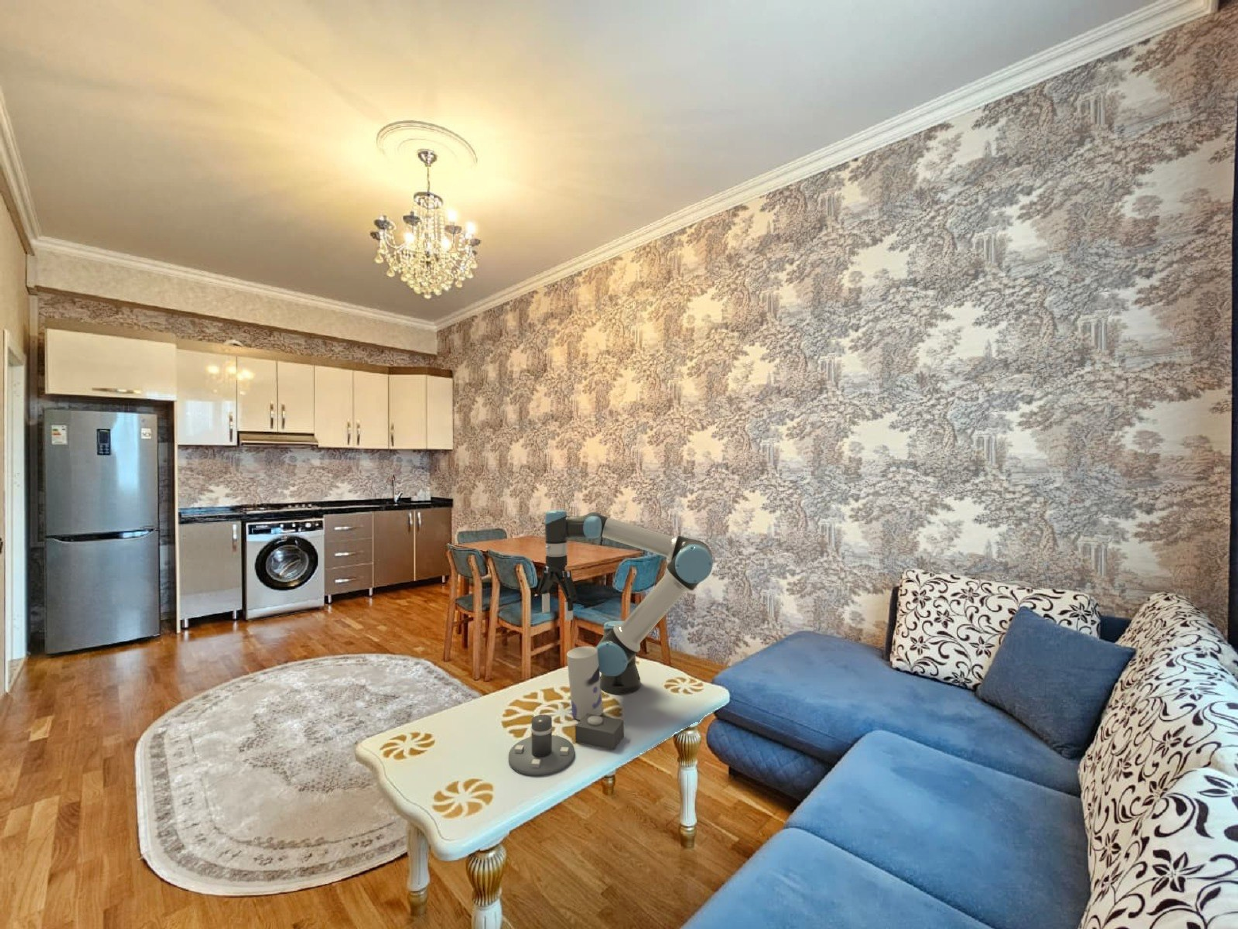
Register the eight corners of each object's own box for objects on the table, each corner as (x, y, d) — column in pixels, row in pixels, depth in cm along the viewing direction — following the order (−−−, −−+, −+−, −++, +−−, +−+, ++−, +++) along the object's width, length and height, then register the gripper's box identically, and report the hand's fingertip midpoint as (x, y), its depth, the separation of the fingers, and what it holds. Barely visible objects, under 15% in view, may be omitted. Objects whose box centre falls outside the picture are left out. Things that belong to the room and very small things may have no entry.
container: (599, 721, 158) (593, 657, 158) (568, 720, 160) (562, 658, 160) (606, 705, 168) (600, 645, 168) (577, 705, 170) (571, 646, 170)
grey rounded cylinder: (545, 744, 144) (545, 712, 145) (556, 752, 140) (556, 720, 140) (527, 751, 141) (527, 718, 141) (538, 760, 136) (538, 726, 136)
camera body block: (623, 737, 151) (623, 717, 151) (613, 751, 143) (613, 730, 143) (587, 729, 155) (587, 710, 155) (575, 743, 148) (575, 723, 148)
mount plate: (551, 732, 153) (551, 725, 153) (587, 758, 139) (587, 750, 139) (496, 754, 142) (496, 746, 142) (529, 784, 128) (529, 776, 128)
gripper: (527, 552, 183) (528, 611, 183) (569, 560, 165) (570, 626, 165) (545, 549, 189) (545, 607, 188) (587, 557, 170) (588, 621, 170)
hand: (557, 616), depth 177 cm, fingers open, 13 cm apart
